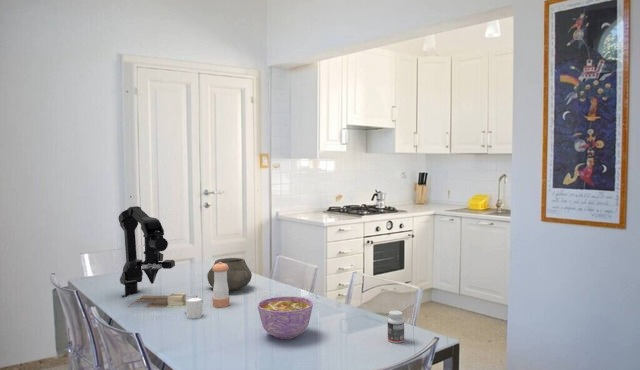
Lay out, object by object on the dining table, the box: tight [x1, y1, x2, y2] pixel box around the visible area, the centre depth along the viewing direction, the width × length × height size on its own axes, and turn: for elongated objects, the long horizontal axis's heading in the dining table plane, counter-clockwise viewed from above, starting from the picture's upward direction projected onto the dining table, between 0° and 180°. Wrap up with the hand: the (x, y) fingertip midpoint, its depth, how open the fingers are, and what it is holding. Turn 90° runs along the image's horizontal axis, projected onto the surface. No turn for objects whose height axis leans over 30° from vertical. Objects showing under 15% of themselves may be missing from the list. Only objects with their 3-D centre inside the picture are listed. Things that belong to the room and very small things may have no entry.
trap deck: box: [127, 295, 198, 308], centre depth 227 cm, size 18×26×2 cm
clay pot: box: [206, 257, 253, 292], centre depth 250 cm, size 22×21×15 cm
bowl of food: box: [257, 295, 314, 340], centre depth 185 cm, size 20×20×12 cm
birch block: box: [167, 292, 187, 306], centre depth 221 cm, size 6×6×4 cm
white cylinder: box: [185, 297, 204, 320], centre depth 209 cm, size 7×7×7 cm
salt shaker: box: [211, 262, 231, 308], centre depth 224 cm, size 7×7×19 cm
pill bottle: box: [387, 310, 405, 344], centre depth 178 cm, size 6×6×10 cm
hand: (152, 283), depth 224 cm, fingers closed
